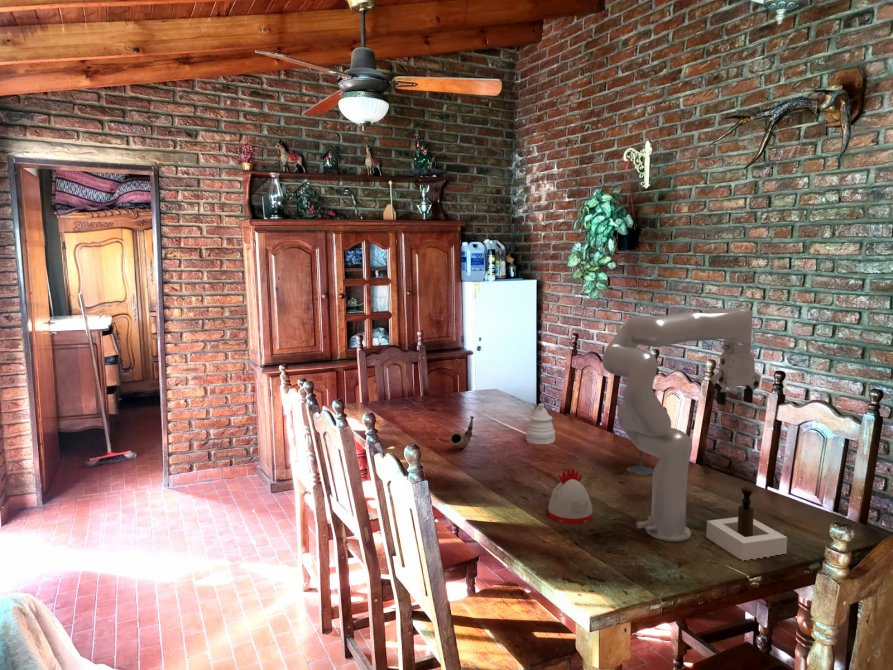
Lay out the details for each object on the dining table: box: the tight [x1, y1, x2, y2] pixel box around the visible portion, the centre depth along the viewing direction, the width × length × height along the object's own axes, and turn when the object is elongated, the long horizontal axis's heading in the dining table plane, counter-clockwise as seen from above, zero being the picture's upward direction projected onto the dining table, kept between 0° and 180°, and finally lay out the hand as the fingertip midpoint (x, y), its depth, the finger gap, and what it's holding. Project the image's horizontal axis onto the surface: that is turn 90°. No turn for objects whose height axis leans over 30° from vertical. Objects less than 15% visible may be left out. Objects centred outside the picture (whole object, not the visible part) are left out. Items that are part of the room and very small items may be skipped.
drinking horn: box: [449, 415, 475, 450], centre depth 273 cm, size 5×29×10 cm, turn 163°
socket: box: [705, 516, 788, 562], centre depth 174 cm, size 14×15×5 cm
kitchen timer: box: [547, 468, 593, 525], centre depth 196 cm, size 14×14×15 cm
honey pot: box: [525, 403, 556, 444], centre depth 276 cm, size 13×13×18 cm
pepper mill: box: [737, 483, 755, 537], centre depth 174 cm, size 7×6×18 cm
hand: (734, 403), depth 191 cm, fingers open, 9 cm apart
